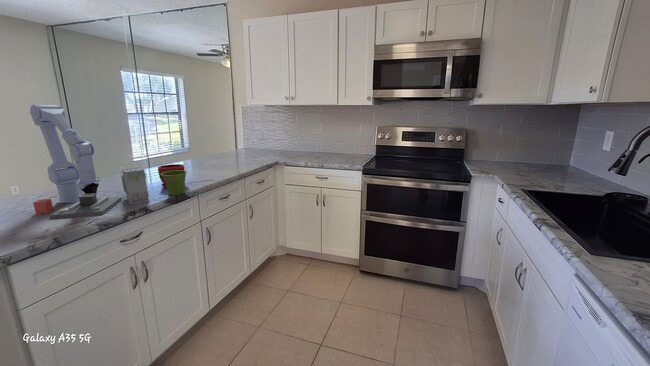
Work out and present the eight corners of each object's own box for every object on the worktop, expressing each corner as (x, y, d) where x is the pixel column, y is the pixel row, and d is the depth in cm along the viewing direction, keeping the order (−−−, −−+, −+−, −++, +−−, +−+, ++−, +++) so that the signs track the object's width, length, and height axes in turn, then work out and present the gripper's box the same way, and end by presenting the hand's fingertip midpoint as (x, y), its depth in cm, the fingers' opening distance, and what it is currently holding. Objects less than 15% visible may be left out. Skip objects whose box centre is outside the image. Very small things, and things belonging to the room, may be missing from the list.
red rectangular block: (42, 210, 123) (39, 199, 122) (53, 209, 124) (50, 198, 123) (36, 213, 119) (33, 202, 118) (47, 213, 120) (44, 201, 119)
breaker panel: (77, 203, 133) (76, 197, 132) (121, 200, 137) (120, 194, 137) (49, 218, 114) (48, 212, 113) (102, 214, 119) (101, 208, 118)
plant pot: (160, 193, 148) (157, 172, 145) (184, 189, 156) (182, 169, 153) (168, 198, 140) (164, 176, 137) (192, 194, 148) (190, 172, 145)
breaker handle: (84, 203, 127) (82, 194, 125) (97, 202, 128) (95, 193, 127) (80, 205, 124) (78, 195, 123) (94, 205, 125) (92, 195, 124)
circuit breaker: (141, 194, 147) (137, 165, 144) (149, 200, 137) (144, 169, 134) (124, 197, 142) (119, 167, 138) (131, 203, 132) (125, 172, 129)
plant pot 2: (191, 185, 165) (189, 164, 162) (170, 190, 154) (167, 168, 151) (176, 182, 171) (174, 162, 168) (155, 187, 160) (152, 166, 157)
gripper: (88, 173, 119) (95, 204, 123) (104, 167, 133) (109, 195, 136) (68, 174, 118) (75, 205, 121) (86, 167, 131) (92, 196, 135)
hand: (92, 200), depth 129 cm, fingers closed
